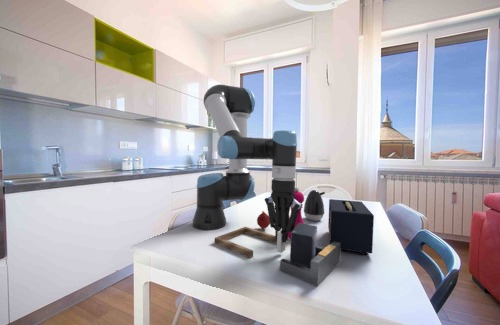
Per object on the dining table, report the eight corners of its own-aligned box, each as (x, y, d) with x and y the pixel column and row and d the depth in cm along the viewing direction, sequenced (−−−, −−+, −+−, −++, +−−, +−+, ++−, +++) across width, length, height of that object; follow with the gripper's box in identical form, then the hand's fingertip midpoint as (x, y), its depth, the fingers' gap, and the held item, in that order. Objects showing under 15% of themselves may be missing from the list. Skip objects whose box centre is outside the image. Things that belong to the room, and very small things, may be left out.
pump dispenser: (327, 222, 107) (328, 192, 107) (306, 222, 107) (307, 191, 107) (320, 216, 117) (321, 188, 117) (301, 216, 117) (302, 188, 117)
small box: (311, 273, 61) (313, 236, 60) (288, 267, 64) (289, 232, 63) (316, 257, 71) (317, 225, 70) (296, 253, 73) (297, 222, 73)
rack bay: (279, 270, 62) (280, 249, 61) (306, 251, 75) (307, 233, 74) (317, 286, 55) (318, 262, 54) (339, 262, 68) (340, 242, 67)
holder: (214, 243, 80) (214, 237, 80) (245, 231, 93) (245, 226, 93) (250, 258, 69) (250, 252, 69) (279, 242, 82) (279, 237, 82)
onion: (271, 228, 98) (271, 210, 97) (268, 232, 92) (268, 213, 92) (258, 226, 99) (259, 208, 99) (255, 230, 94) (255, 212, 94)
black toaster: (328, 231, 95) (329, 197, 95) (360, 235, 91) (362, 199, 91) (330, 252, 75) (331, 208, 74) (372, 258, 71) (374, 212, 70)
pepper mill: (304, 242, 83) (306, 189, 82) (285, 240, 84) (287, 188, 83) (304, 235, 90) (305, 186, 89) (286, 233, 91) (287, 185, 90)
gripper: (260, 177, 72) (258, 248, 73) (296, 182, 63) (293, 261, 64) (273, 176, 77) (270, 241, 79) (307, 180, 69) (304, 253, 70)
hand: (280, 250), depth 72 cm, fingers closed
